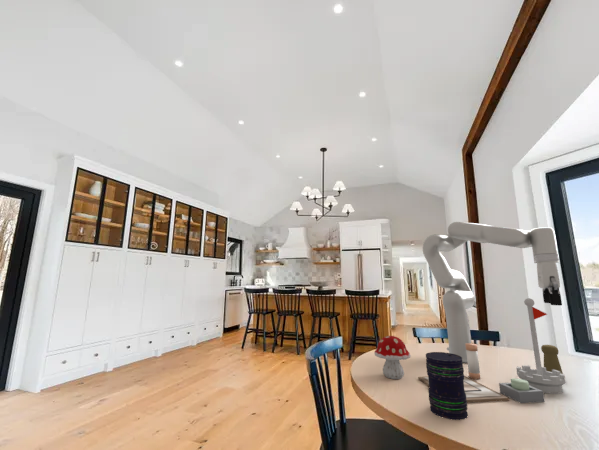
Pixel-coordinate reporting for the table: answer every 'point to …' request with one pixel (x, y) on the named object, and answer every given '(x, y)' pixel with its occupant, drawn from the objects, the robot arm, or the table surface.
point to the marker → (472, 361)
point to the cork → (551, 358)
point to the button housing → (522, 393)
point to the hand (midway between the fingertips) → (552, 304)
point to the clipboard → (475, 391)
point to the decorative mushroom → (392, 356)
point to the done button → (519, 384)
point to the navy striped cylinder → (446, 385)
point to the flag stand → (539, 361)
